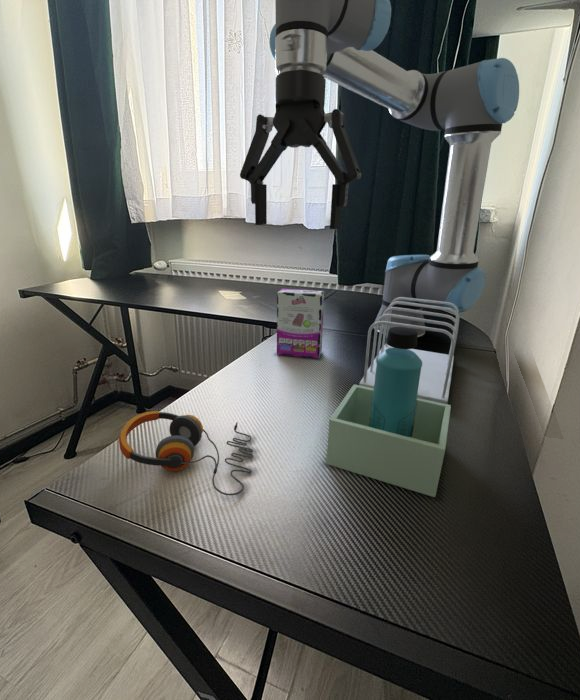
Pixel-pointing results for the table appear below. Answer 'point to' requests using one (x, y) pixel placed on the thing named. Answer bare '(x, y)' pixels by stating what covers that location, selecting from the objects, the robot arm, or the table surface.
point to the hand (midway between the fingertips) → (296, 226)
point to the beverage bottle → (396, 384)
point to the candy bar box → (300, 322)
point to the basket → (389, 443)
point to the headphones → (178, 444)
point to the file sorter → (433, 364)
